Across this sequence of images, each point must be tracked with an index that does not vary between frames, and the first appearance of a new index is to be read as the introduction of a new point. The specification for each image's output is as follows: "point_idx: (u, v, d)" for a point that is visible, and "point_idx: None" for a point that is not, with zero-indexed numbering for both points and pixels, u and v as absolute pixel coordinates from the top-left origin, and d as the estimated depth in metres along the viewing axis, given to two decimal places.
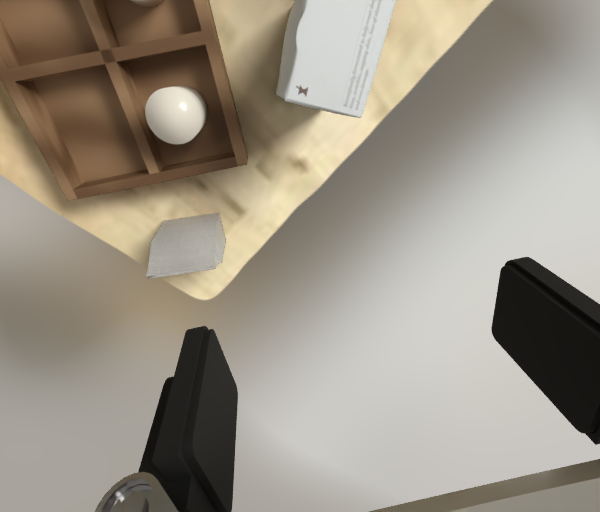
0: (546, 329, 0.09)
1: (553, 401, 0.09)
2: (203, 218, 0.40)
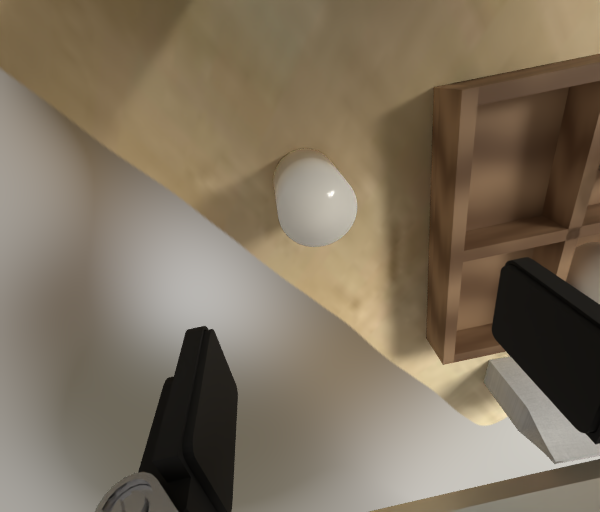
0: (546, 329, 0.09)
1: (553, 401, 0.09)
2: None
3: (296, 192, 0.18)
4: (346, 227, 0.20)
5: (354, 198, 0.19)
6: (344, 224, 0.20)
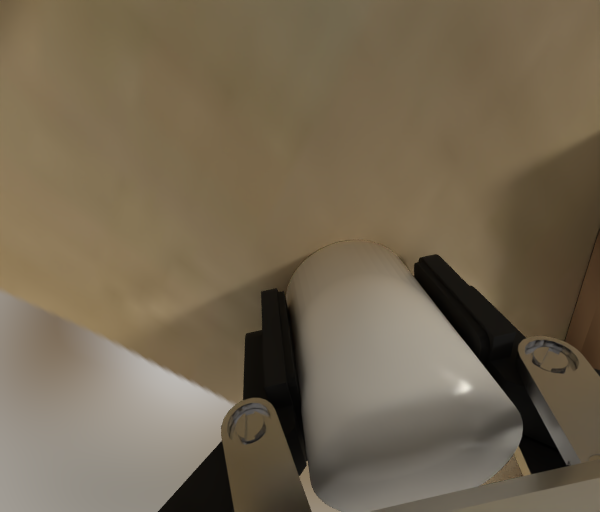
0: None
1: None
2: None
3: (366, 434, 0.06)
4: (480, 479, 0.08)
5: (518, 430, 0.07)
6: (477, 474, 0.08)
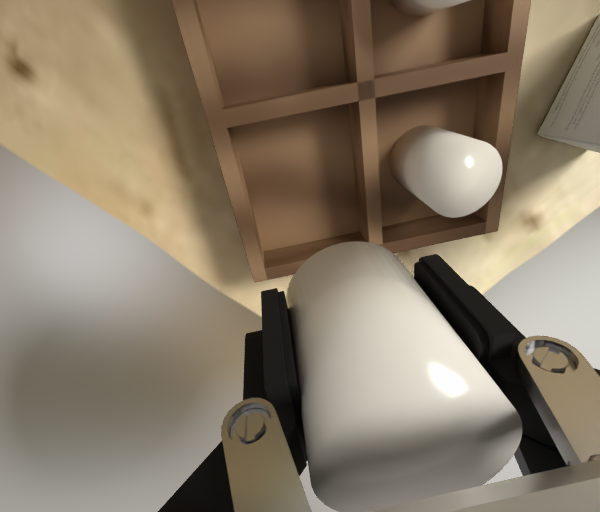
0: None
1: None
2: None
3: (366, 435, 0.06)
4: (480, 480, 0.08)
5: (518, 431, 0.07)
6: (476, 476, 0.08)
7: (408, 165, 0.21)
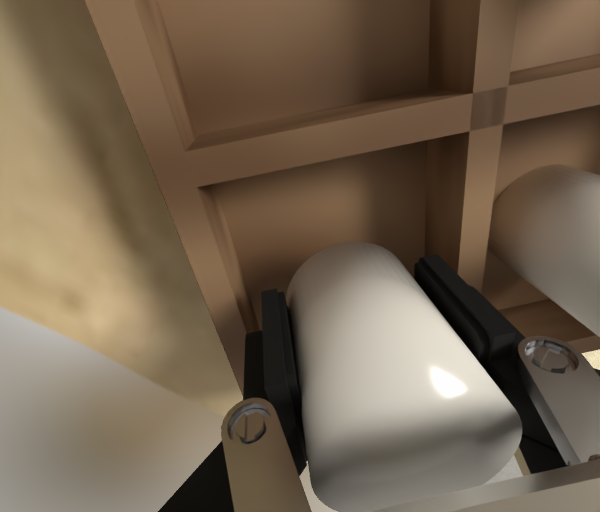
0: None
1: None
2: None
3: (366, 435, 0.06)
4: (480, 480, 0.08)
5: (518, 431, 0.07)
6: (476, 475, 0.08)
7: (546, 248, 0.11)
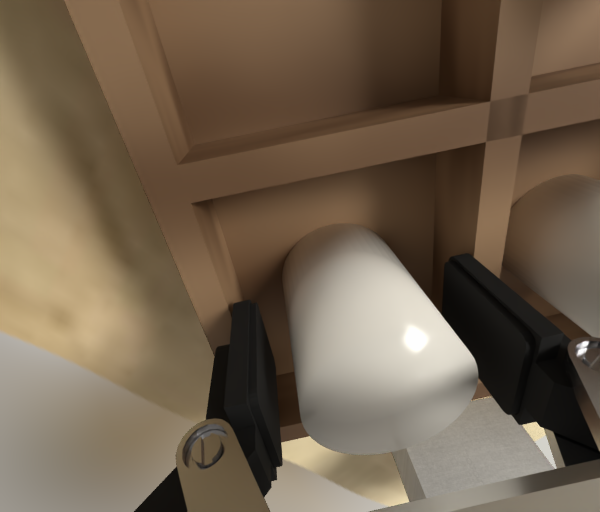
0: (478, 319, 0.09)
1: (486, 387, 0.10)
2: (481, 416, 0.19)
3: (345, 373, 0.08)
4: (446, 421, 0.09)
5: (475, 374, 0.08)
6: (442, 416, 0.09)
7: (565, 265, 0.11)
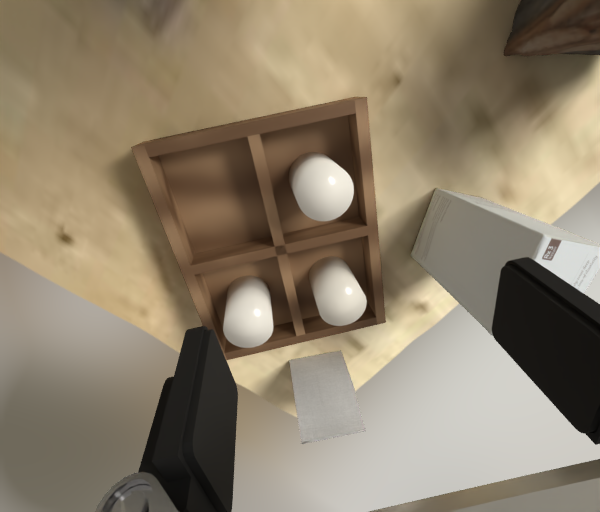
0: (546, 329, 0.09)
1: (553, 401, 0.09)
2: (329, 358, 0.42)
3: (233, 319, 0.30)
4: (268, 336, 0.31)
5: (270, 320, 0.31)
6: (266, 334, 0.31)
7: (313, 289, 0.33)
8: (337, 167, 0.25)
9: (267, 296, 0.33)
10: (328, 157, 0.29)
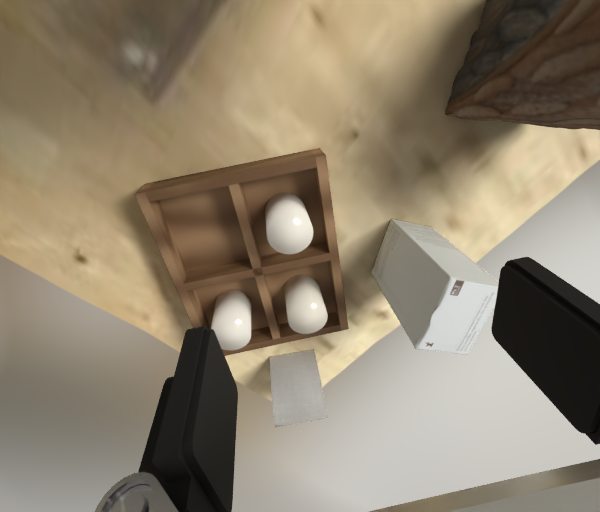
0: (546, 329, 0.09)
1: (553, 401, 0.09)
2: (303, 356, 0.49)
3: (218, 328, 0.37)
4: (246, 341, 0.39)
5: (249, 329, 0.38)
6: (245, 340, 0.38)
7: (286, 303, 0.40)
8: (299, 214, 0.32)
9: (247, 307, 0.40)
10: (296, 198, 0.36)
